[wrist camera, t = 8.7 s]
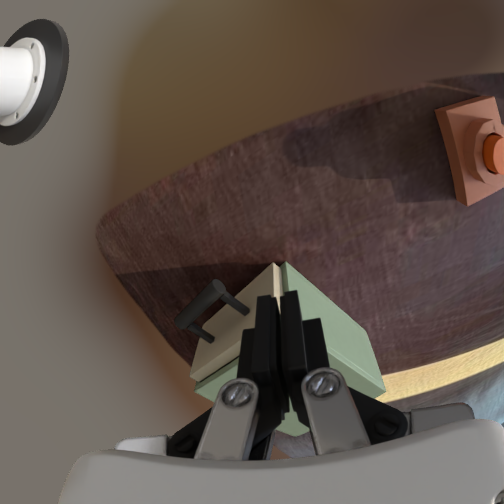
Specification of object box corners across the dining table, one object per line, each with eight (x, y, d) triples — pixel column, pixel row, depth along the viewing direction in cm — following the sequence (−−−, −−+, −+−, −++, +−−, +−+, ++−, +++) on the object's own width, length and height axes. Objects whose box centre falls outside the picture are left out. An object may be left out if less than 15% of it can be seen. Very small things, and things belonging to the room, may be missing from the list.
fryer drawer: (173, 303, 30) (151, 353, 23) (239, 234, 26) (229, 280, 19) (284, 375, 35) (286, 424, 28) (353, 330, 30) (369, 381, 23)
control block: (433, 109, 19) (456, 111, 16) (481, 95, 17) (505, 97, 14) (456, 200, 23) (477, 213, 20) (499, 178, 21) (520, 188, 18)
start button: (478, 139, 17) (490, 142, 15) (499, 131, 16) (510, 134, 14) (485, 175, 18) (496, 179, 17) (505, 165, 17) (516, 169, 16)
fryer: (209, 327, 32) (193, 391, 24) (285, 260, 28) (292, 326, 19) (292, 378, 36) (295, 436, 28) (365, 330, 32) (386, 391, 23)
